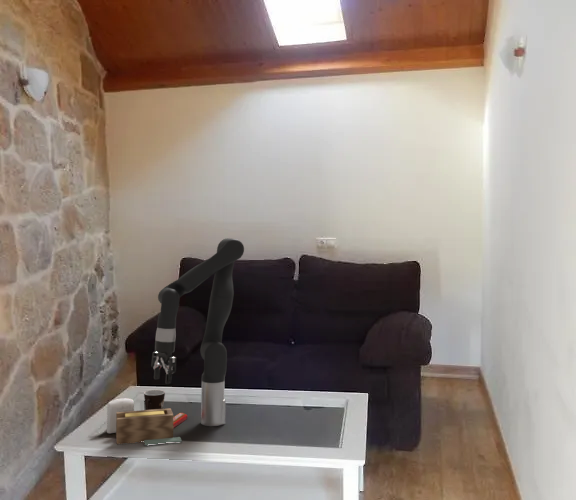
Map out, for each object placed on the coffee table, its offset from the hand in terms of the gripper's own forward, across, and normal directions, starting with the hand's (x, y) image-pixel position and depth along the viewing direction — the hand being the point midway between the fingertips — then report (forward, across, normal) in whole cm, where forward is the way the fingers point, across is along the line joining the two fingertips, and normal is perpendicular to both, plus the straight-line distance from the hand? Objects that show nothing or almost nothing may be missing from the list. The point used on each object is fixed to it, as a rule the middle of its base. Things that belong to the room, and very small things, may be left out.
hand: (162, 381), depth 221 cm
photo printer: (+20, +9, +11) cm, 25 cm away
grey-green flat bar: (+19, -13, +6) cm, 24 cm away
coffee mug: (+19, +16, -6) cm, 26 cm away
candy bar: (+19, +3, -10) cm, 21 cm away
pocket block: (+19, -4, +8) cm, 21 cm away
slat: (+13, -4, +9) cm, 16 cm away
